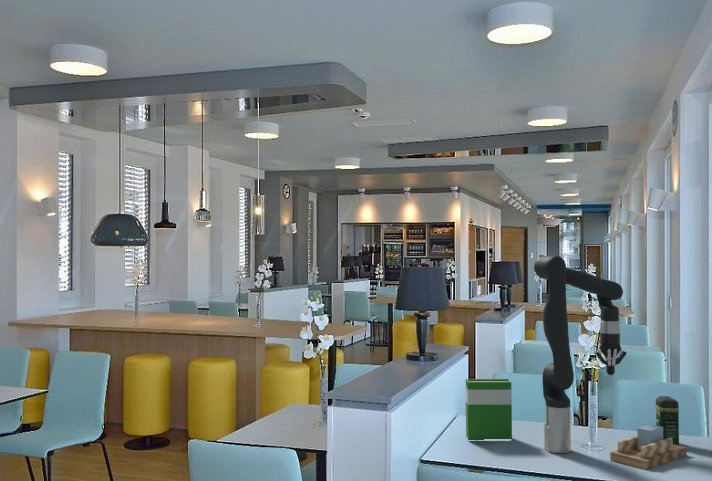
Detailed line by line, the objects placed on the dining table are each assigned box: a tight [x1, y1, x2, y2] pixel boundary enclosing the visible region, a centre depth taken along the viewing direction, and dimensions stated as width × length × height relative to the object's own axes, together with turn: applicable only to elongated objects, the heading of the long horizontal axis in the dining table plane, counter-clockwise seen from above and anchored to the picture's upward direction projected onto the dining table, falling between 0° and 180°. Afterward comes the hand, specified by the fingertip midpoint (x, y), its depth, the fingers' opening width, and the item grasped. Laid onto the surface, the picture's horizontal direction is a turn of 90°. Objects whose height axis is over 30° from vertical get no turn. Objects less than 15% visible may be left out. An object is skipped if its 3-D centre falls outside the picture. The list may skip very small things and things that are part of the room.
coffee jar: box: [655, 395, 680, 446], centre depth 279 cm, size 10×8×19 cm
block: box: [637, 423, 663, 450], centre depth 261 cm, size 9×5×8 cm, turn 127°
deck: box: [609, 435, 688, 471], centre depth 260 cm, size 28×14×7 cm, turn 127°
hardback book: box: [465, 378, 513, 441], centre depth 288 cm, size 18×7×24 cm, turn 88°
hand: (610, 374), depth 282 cm, fingers closed
